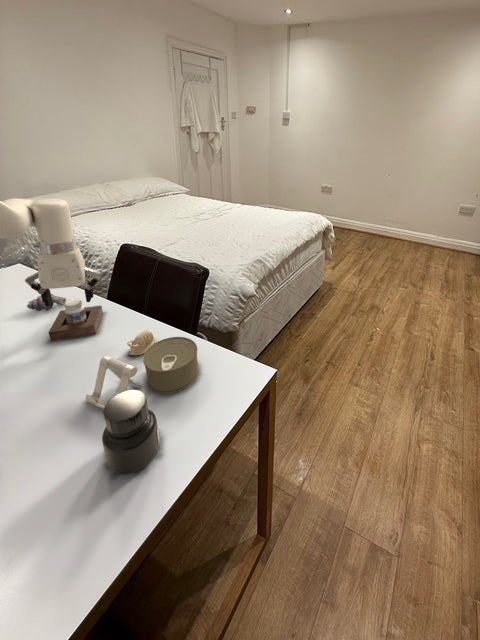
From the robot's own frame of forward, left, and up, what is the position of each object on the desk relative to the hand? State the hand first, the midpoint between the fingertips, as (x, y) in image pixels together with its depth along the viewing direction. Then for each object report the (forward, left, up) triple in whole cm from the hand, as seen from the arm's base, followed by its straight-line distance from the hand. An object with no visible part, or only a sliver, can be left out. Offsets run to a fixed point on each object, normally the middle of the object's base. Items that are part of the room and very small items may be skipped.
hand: (69, 301), depth 91 cm
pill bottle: (+1, 0, -9) cm, 9 cm away
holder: (+1, 0, -9) cm, 9 cm away
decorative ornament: (+19, -16, -9) cm, 26 cm away
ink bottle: (+20, -46, -9) cm, 51 cm away
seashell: (-10, +13, -9) cm, 19 cm away
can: (+27, -28, -9) cm, 40 cm away
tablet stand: (+15, -31, -9) cm, 35 cm away
